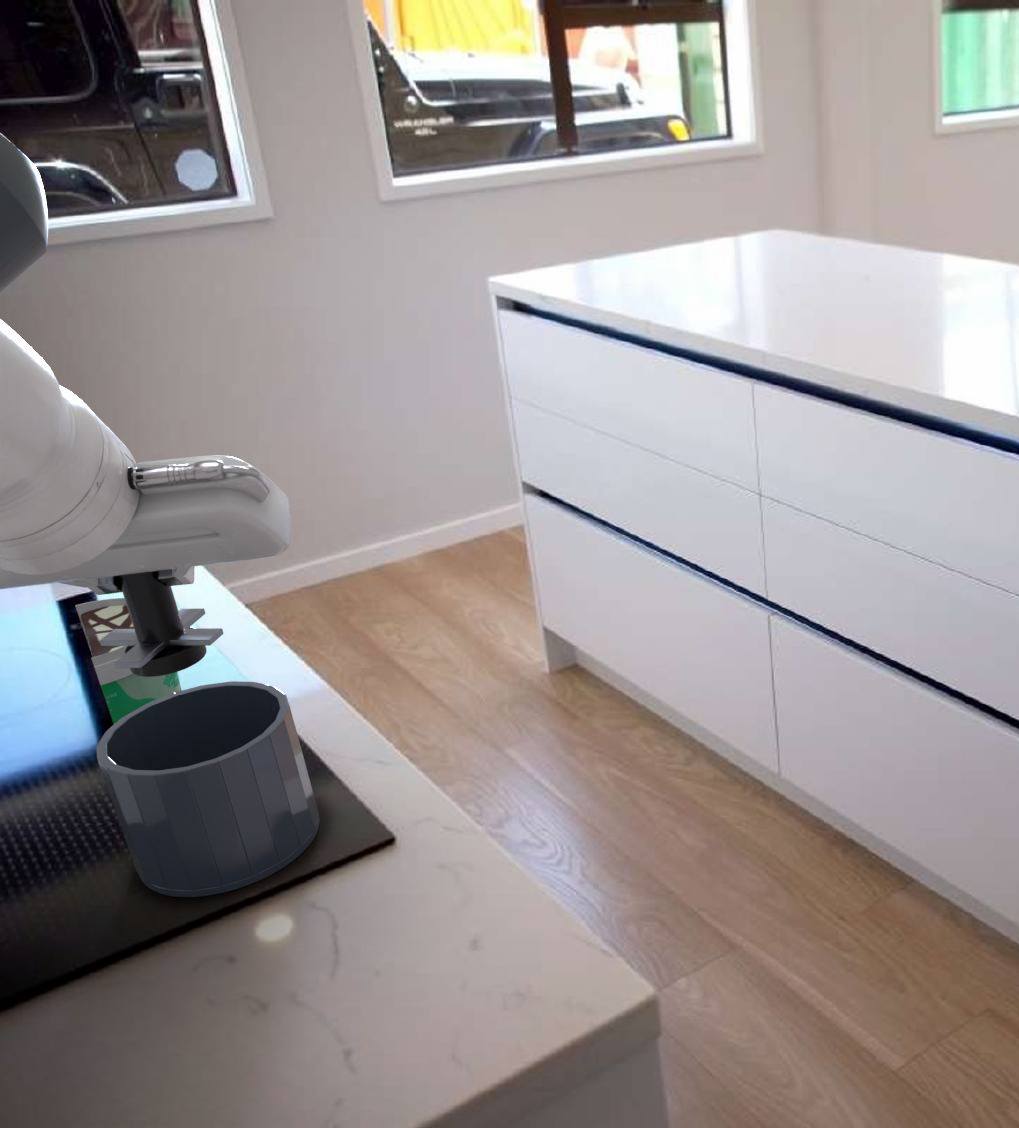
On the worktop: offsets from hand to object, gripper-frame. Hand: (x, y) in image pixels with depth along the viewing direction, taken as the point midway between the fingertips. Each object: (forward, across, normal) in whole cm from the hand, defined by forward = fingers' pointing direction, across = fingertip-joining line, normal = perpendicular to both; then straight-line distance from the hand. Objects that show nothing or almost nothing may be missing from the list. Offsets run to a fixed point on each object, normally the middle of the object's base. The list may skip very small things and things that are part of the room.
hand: (147, 578), depth 79 cm
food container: (+28, +10, +1) cm, 30 cm away
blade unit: (+3, 0, +4) cm, 5 cm away
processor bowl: (+16, 0, +14) cm, 21 cm away
